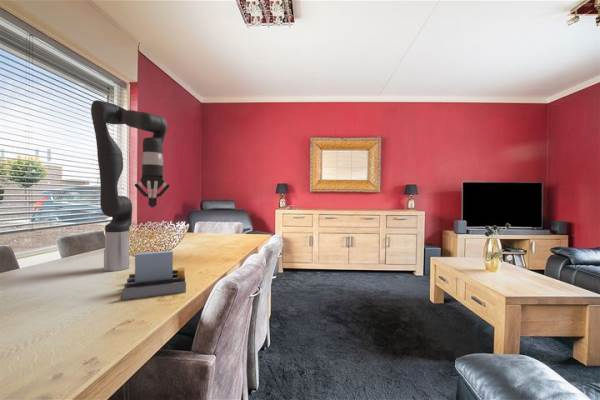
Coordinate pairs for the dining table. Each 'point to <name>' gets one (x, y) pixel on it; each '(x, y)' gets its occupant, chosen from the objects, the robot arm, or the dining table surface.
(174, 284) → the rack
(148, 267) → the panel
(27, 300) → the dining table surface
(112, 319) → the dining table surface
